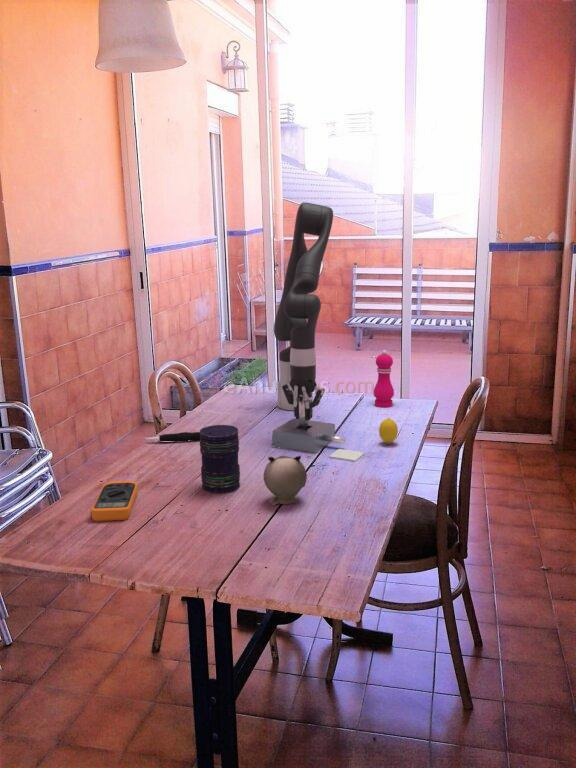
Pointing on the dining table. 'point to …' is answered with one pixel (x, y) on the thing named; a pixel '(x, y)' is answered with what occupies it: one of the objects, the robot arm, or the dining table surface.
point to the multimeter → (115, 501)
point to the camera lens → (219, 459)
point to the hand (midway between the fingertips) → (303, 418)
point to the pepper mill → (383, 381)
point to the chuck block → (305, 436)
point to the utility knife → (177, 437)
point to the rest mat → (346, 455)
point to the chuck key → (302, 412)
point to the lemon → (388, 430)
